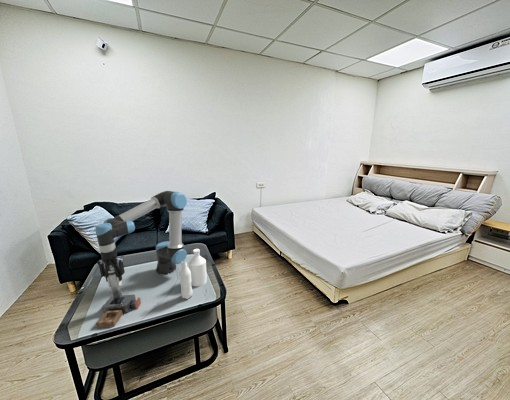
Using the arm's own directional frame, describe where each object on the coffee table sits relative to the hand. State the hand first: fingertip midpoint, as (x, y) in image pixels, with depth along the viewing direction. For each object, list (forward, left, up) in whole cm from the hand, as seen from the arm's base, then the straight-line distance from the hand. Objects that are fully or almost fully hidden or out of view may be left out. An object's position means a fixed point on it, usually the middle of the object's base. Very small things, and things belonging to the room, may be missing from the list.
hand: (115, 285), depth 129 cm
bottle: (-45, -22, -15) cm, 52 cm away
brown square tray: (-1, +11, -15) cm, 19 cm away
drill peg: (0, 0, -7) cm, 7 cm away
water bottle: (-40, -6, -15) cm, 43 cm away
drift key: (-8, 0, -15) cm, 17 cm away
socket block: (0, 0, -15) cm, 15 cm away
